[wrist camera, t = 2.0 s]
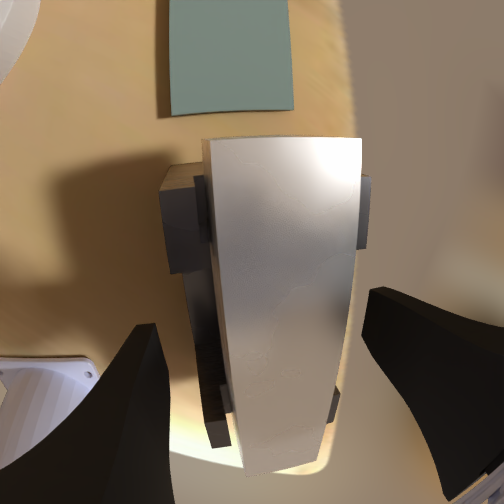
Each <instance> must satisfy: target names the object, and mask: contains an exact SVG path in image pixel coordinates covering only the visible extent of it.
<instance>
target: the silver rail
mask: <svg viewBox="0 0 504 504" xmlns="http://www.w3.org/2000/svg"><path fill="white" fill-rule="evenodd" d="M201 143H202V158H203V172H204V185H205V198H206V209H207V221H208V231H209V242H210V252H211V262H212V271H213V280H214V289H215V298H216V306H217V315H218V323H219V330H220V338H221V346H222V353H223V360H224V367H225V374H226V381H227V388H228V395H229V401H230V408H231V414H232V420H233V426H234V430H235V434H236V438H237V443H238V447H239V451H240V455H241V459H242V463H243V467H244V471H245V474H246V477H250V476H255V475H260V474H265V473H270V472H275V471H279V470H283V469H287V468H291V467H295V466H299V465H302V464H306V463H310V462H313V461H316V459H317V456H318V452H319V449H320V445H321V442H322V438H323V434H324V430H325V427H326V423H327V419H328V415H329V410H330V406H331V402H332V398H333V393H334V389H335V384H336V379H337V374H338V369H339V364H340V359H341V354H342V348H343V343H344V337H345V331H346V325H347V318H348V312H349V305H350V298H351V290H352V282H353V274H354V265H355V256H356V245H357V234H358V221H359V205H360V185H361V139H358V138H347V137H334V136H319V135H259V136H237V137H222V138H209V139H201Z"/></svg>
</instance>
